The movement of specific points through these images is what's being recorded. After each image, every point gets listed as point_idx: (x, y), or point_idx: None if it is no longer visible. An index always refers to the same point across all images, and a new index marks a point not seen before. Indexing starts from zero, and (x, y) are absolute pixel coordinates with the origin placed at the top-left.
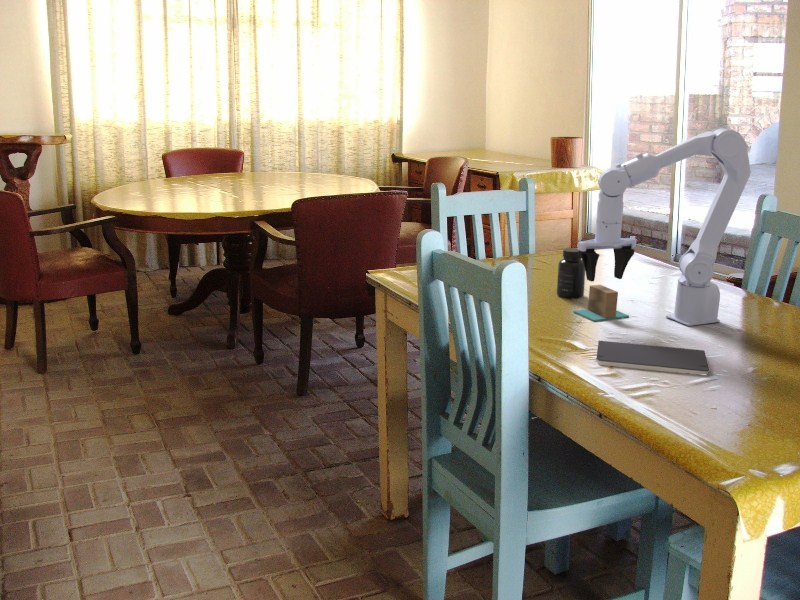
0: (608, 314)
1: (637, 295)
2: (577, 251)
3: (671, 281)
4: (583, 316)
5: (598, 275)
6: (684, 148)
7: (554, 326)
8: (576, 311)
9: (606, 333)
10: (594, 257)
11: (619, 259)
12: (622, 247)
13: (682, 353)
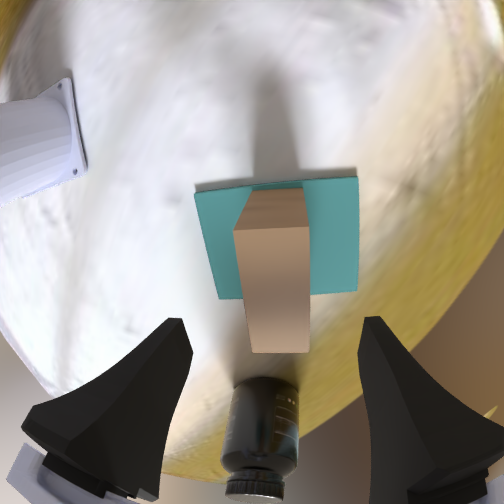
0: (287, 191)
1: (109, 349)
2: (249, 495)
3: (54, 372)
4: (358, 237)
5: None
6: None
7: (488, 178)
8: (353, 282)
9: (383, 44)
10: (472, 434)
11: (144, 424)
12: (102, 491)
13: None
